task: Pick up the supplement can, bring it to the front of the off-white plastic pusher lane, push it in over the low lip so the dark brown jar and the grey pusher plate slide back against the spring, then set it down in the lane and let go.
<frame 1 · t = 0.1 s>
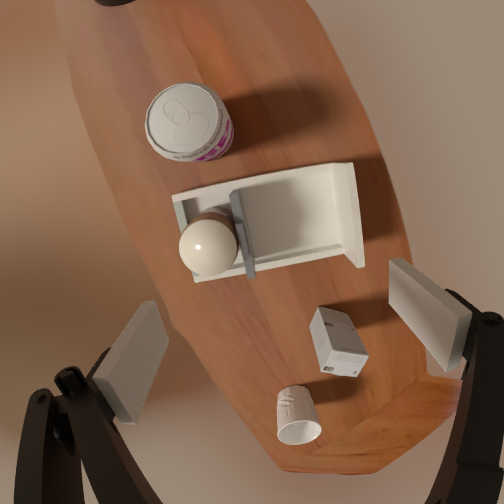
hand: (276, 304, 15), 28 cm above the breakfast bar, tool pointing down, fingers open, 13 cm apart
lane: (263, 219, 42), on the breakfast bar
supplement can: (205, 133, 38), on the breakfast bar
pusher: (243, 232, 37), point 6 cm above the breakfast bar, slide at 6.5 cm, touching jar
skincare box: (327, 319, 47), on the breakfast bar
white cup: (293, 395, 53), on the breakfast bar
jar: (216, 230, 41), point 1 cm above the breakfast bar, touching lane, pusher
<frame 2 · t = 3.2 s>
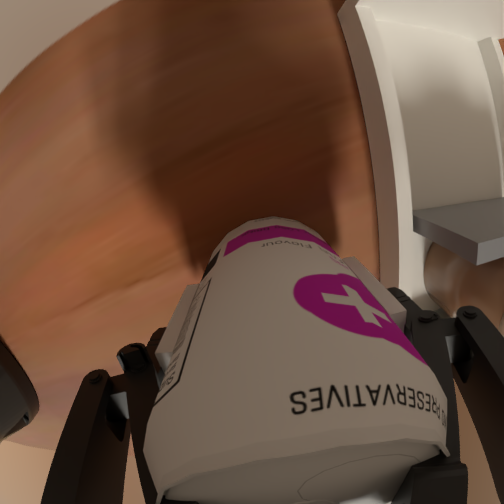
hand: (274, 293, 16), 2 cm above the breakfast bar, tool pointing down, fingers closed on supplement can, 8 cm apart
lane: (449, 168, 16), on the breakfast bar
supplement can: (271, 276, 19), on the breakfast bar, touching gripper
pusher: (502, 223, 12), point 6 cm above the breakfast bar, slide at 6.5 cm, touching jar
jar: (459, 262, 17), point 1 cm above the breakfast bar, touching lane, pusher
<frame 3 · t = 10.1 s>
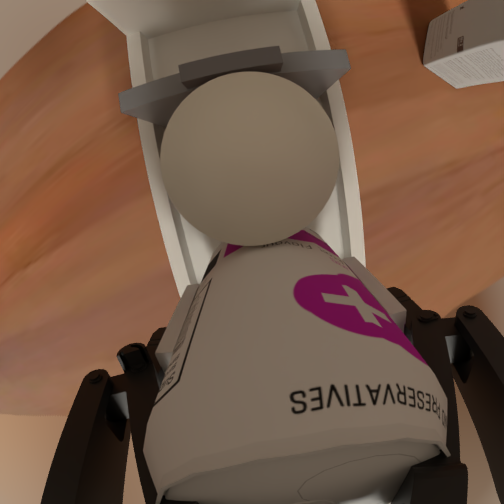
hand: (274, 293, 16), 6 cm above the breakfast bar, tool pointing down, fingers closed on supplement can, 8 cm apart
lane: (249, 152, 20), on the breakfast bar
supplement can: (271, 277, 19), point 3 cm above the breakfast bar, touching gripper, jar
pusher: (235, 87, 13), point 6 cm above the breakfast bar, slide at 12.8 cm, touching jar
skincare box: (443, 56, 16), on the breakfast bar
jar: (250, 160, 19), point 1 cm above the breakfast bar, touching pusher, supplement can
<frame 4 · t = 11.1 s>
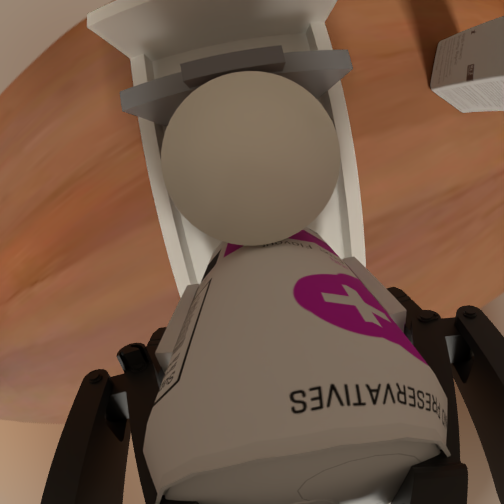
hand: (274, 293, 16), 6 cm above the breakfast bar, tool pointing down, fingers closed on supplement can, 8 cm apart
lane: (255, 181, 20), on the breakfast bar
supplement can: (271, 277, 19), point 3 cm above the breakfast bar, touching gripper, jar
pusher: (237, 86, 13), point 6 cm above the breakfast bar, slide at 14.9 cm, touching jar
skincare box: (450, 78, 17), on the breakfast bar
jar: (251, 159, 18), point 1 cm above the breakfast bar, touching lane, pusher, supplement can
when the fingers open (4 cm above the breakfast bar, at t = 12.0 s): supplement can stays where it is, resting on jar, lane.
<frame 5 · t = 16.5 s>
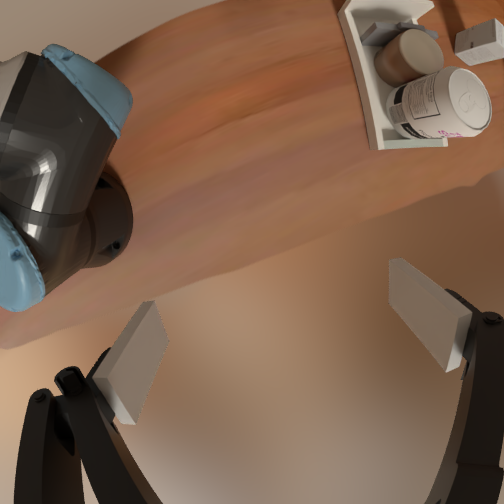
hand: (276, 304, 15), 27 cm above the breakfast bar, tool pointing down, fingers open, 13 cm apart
lane: (392, 77, 34), on the breakfast bar
supplement can: (407, 113, 34), point 2 cm above the breakfast bar, touching jar, lane
pusher: (399, 35, 27), point 6 cm above the breakfast bar, slide at 14.6 cm, touching jar
skincare box: (462, 50, 31), on the breakfast bar
jar: (394, 67, 32), point 1 cm above the breakfast bar, touching lane, pusher, supplement can
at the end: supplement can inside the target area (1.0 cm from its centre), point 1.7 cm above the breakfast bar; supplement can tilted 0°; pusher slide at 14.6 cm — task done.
